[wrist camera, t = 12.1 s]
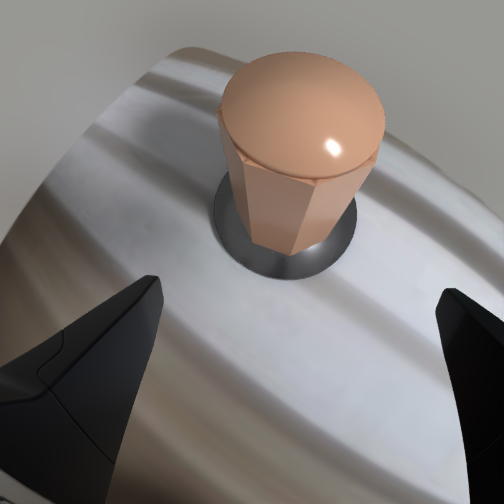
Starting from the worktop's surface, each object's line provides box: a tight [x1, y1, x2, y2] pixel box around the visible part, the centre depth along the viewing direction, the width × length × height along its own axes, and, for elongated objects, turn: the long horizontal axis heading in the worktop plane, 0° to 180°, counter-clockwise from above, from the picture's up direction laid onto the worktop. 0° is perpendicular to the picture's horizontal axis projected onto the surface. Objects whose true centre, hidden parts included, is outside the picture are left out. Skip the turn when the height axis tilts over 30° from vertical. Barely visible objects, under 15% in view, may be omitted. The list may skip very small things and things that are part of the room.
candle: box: [214, 171, 357, 280], centre depth 22 cm, size 11×11×5 cm
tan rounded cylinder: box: [216, 52, 385, 256], centre depth 18 cm, size 7×7×12 cm
